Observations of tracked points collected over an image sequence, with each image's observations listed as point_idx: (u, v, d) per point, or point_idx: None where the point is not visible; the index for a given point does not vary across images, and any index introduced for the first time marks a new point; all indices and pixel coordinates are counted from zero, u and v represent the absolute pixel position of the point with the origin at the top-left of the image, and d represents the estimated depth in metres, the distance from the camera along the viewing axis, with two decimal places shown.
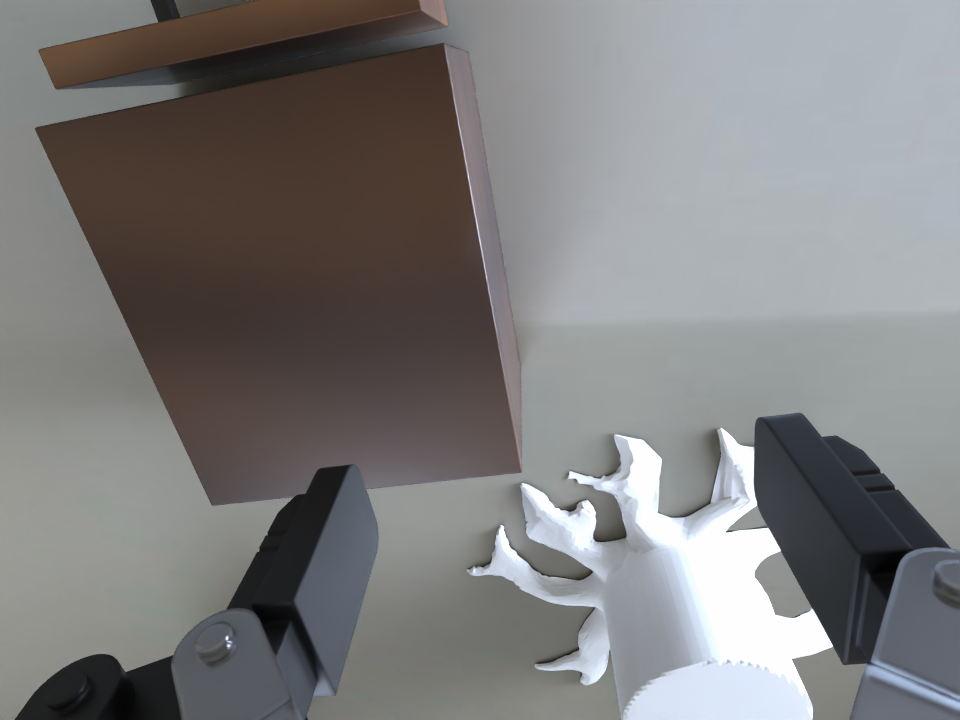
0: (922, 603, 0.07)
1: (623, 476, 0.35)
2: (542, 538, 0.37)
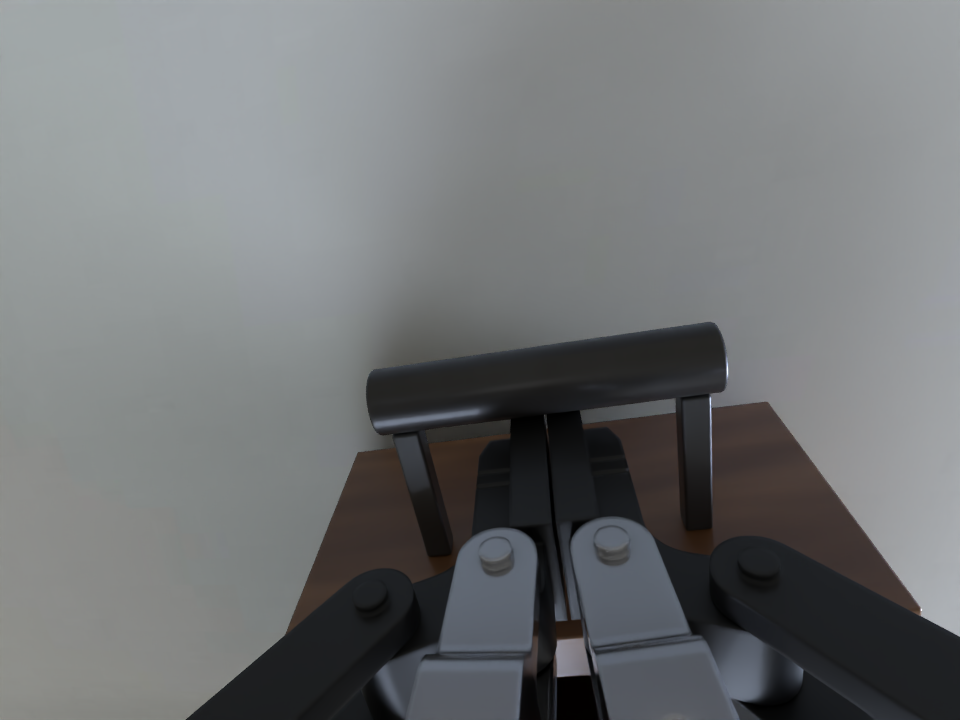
0: (598, 574, 0.08)
1: None
2: None
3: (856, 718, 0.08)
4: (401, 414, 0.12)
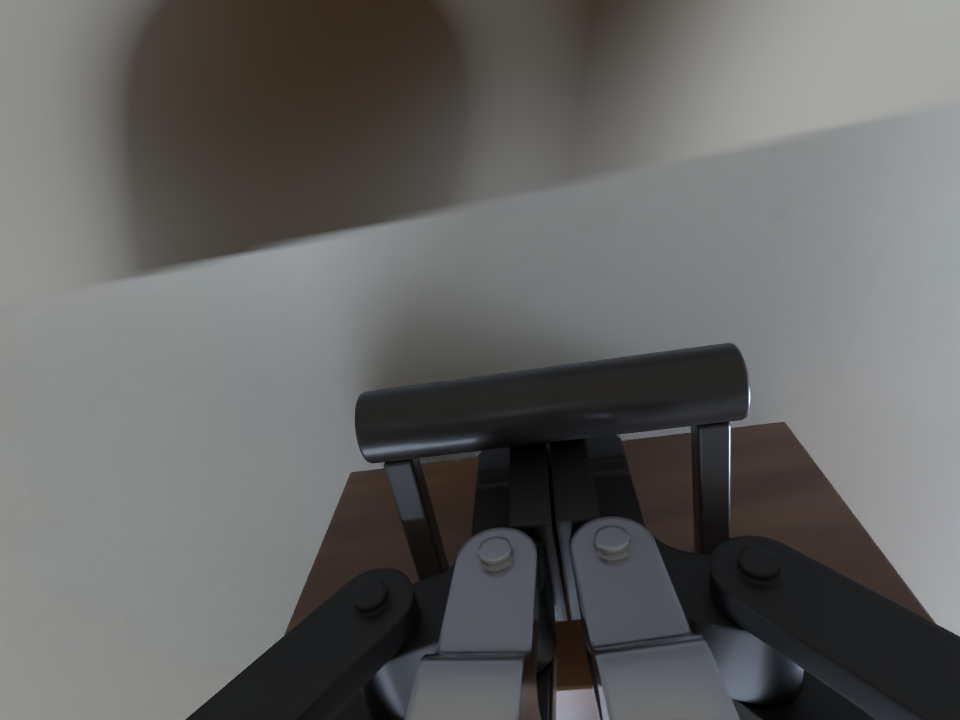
0: (598, 574, 0.08)
1: None
2: None
3: (856, 718, 0.08)
4: (392, 442, 0.11)
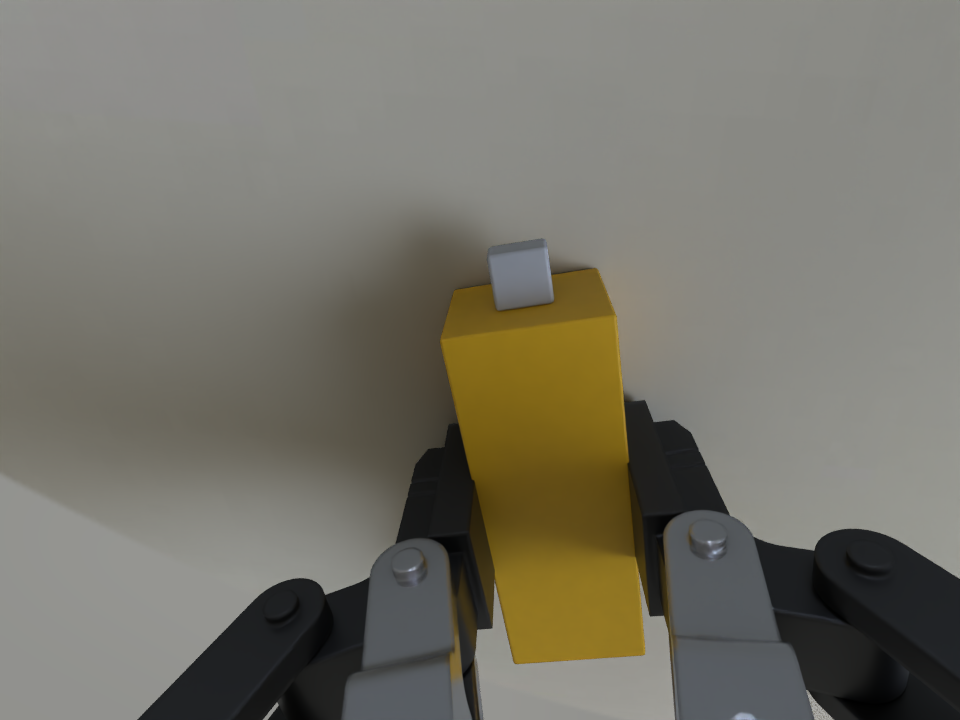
0: (689, 565, 0.08)
1: None
2: None
3: None
4: None
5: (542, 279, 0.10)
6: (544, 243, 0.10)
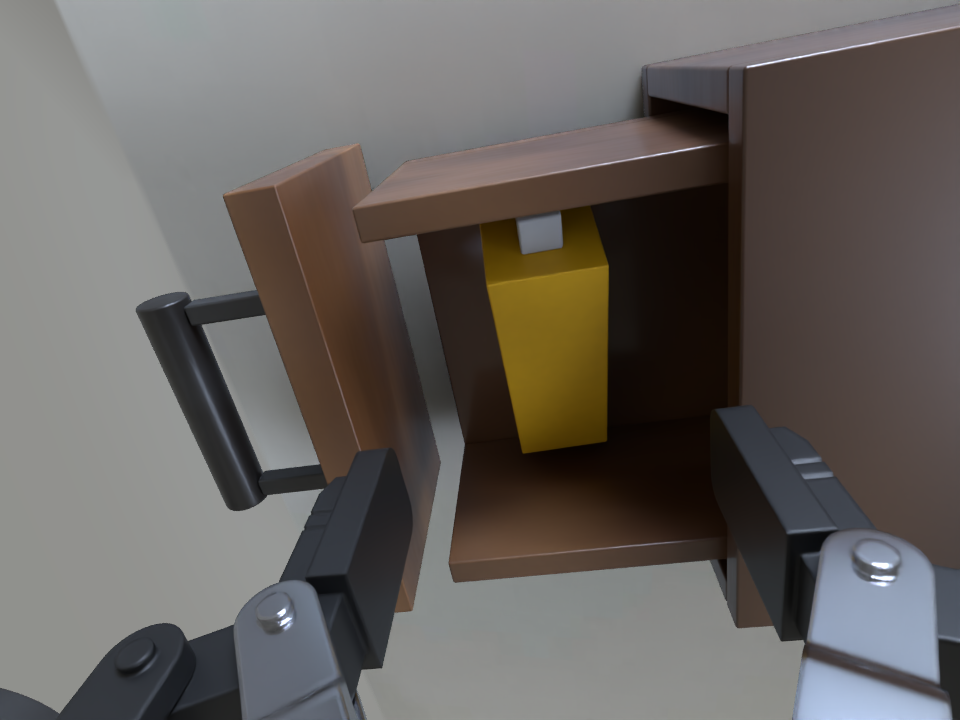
0: (845, 582, 0.07)
1: None
2: None
3: None
4: (231, 494, 0.19)
5: (556, 234, 0.13)
6: None
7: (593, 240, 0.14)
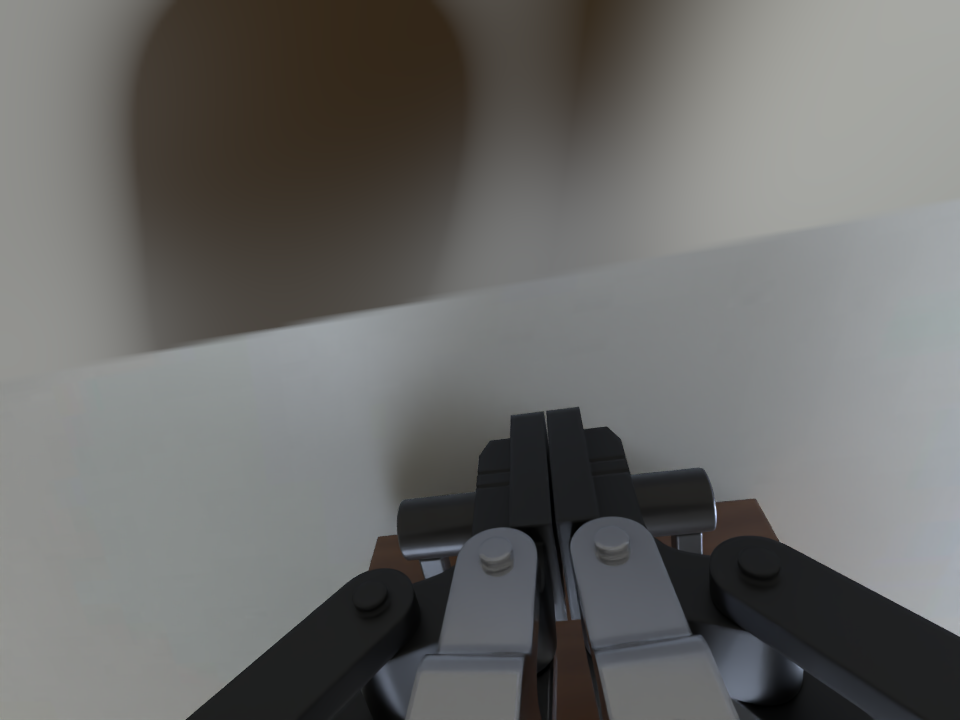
0: (598, 574, 0.08)
1: None
2: None
3: (856, 718, 0.08)
4: (428, 547, 0.13)
5: None
6: None
7: None
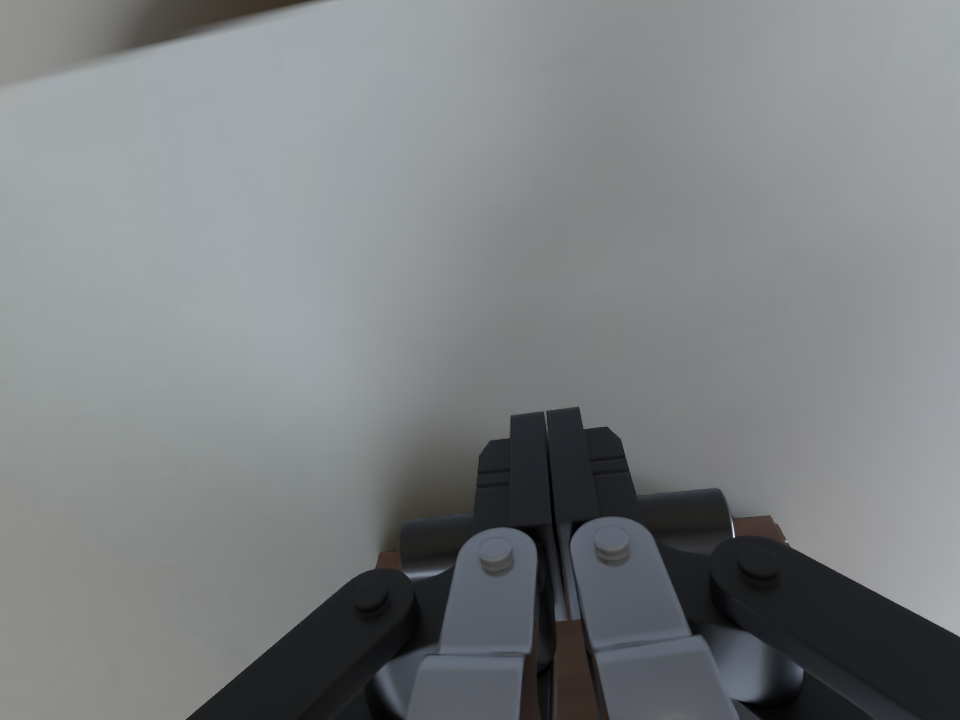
0: (598, 574, 0.08)
1: None
2: None
3: (856, 718, 0.08)
4: (431, 570, 0.13)
5: None
6: None
7: None
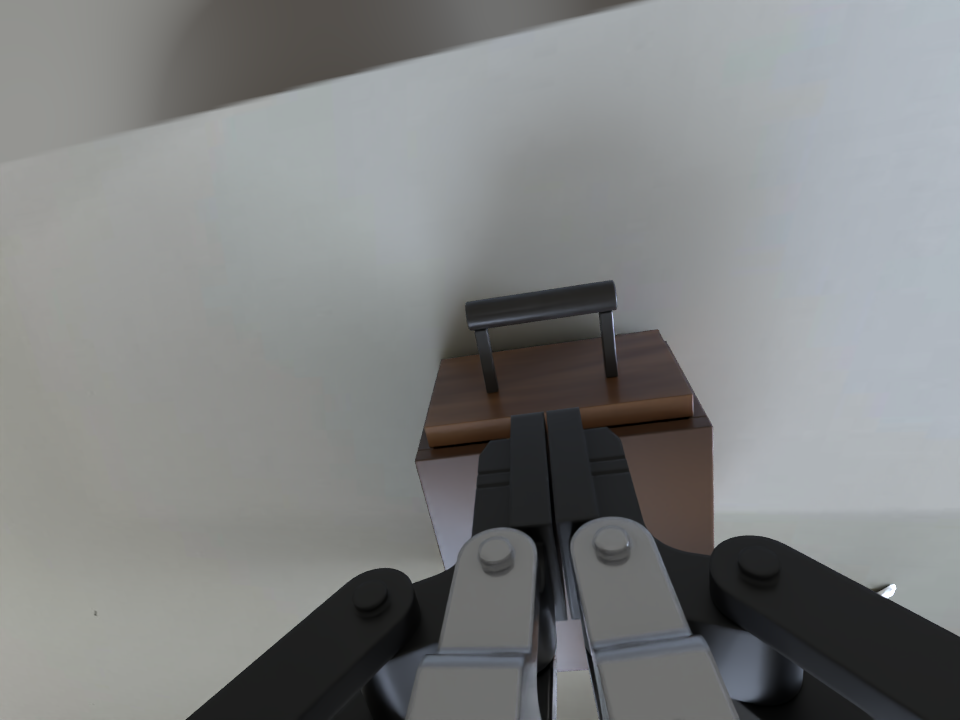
0: (598, 574, 0.08)
1: None
2: None
3: (856, 718, 0.08)
4: (480, 319, 0.28)
5: None
6: None
7: None
